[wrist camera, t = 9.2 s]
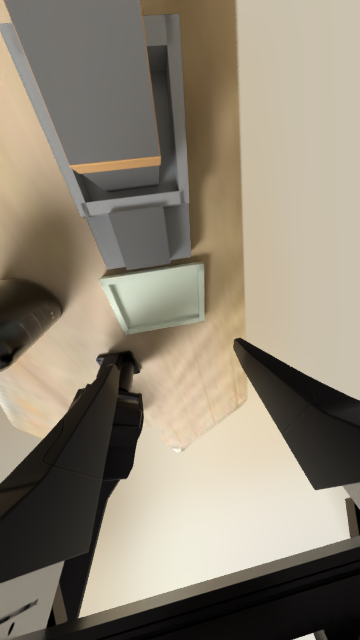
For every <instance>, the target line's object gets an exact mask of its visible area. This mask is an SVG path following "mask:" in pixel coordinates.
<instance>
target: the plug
mask: <svg viewBox="0 0 360 640" xmlns="http://www.w3.org/2000/svg"><path fill="white" fill-rule="evenodd" d="M3 1H4V3H5V6H6V8H7V11H8V13H9V16H10V18H11V21H12V23H13V26H14V28H15V31H16V33H17V36H18V38H19V41H20V43H21V46H22V48H23V51H24V53H25V56H26V59H27V61H28V64H29V66H30V69H31V71H32V74H33V76H34V79H35V81H36V84H37V86H38V89H39V91H40V94H41V96H42V99H43V101H44V104H45V106H46V109H47V111H48V114H49V116H50V119H51V121H52V124H53V126H54V129H55V131H56V134H57V136H58V139H59V141H60V144H61V146H62V149H63V151H64V154H65V156H66V159H67V161H68V164H69V166H70V168H72V169H73V170H74V171H76V172H77V173H79V174H83V175H84V176H85V177H87V178H88V179H89V180H91V181H92V182H94V183H95V184H96V185H98V186H99V187H101V188H102V189H103V190H105V191H106V192H111V191H119V190H128V189H136V188H145V187H154V186H159V165H160V164H161V155H160V147H159V139H158V131H157V123H156V115H155V107H154V99H153V91H152V84H151V76H150V68H149V60H148V52H147V44H146V36H145V28H144V20H143V12H142V4H141V0H3Z"/></svg>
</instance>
